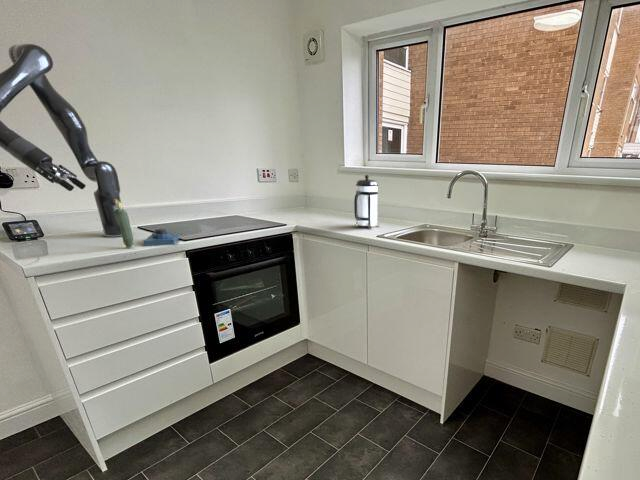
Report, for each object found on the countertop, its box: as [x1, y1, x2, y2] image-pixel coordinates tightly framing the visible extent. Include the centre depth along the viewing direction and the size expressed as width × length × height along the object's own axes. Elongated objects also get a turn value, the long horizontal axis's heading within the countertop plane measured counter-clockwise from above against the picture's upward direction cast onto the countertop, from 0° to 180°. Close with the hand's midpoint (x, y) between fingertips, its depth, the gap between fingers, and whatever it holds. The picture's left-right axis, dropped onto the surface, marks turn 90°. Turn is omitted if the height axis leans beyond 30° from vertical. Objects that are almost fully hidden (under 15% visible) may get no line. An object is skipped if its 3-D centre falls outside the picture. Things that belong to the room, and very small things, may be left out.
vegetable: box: [113, 199, 134, 249], centre depth 141 cm, size 4×4×20 cm
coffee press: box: [353, 174, 380, 230], centre depth 205 cm, size 17×16×30 cm
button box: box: [143, 231, 180, 247], centre depth 157 cm, size 14×11×4 cm
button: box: [154, 228, 167, 234], centre depth 156 cm, size 4×4×2 cm
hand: (78, 188), depth 133 cm, fingers open, 8 cm apart
